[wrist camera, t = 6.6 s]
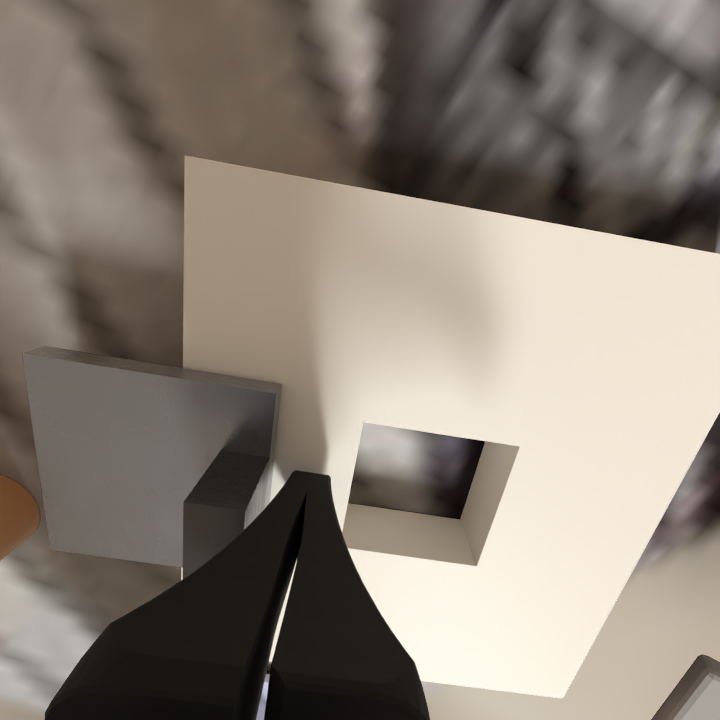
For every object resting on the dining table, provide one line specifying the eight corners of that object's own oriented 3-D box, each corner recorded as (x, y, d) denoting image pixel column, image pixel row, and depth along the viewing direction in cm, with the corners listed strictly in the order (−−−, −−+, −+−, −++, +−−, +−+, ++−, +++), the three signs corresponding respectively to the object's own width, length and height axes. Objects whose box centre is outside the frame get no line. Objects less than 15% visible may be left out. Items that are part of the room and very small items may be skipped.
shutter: (263, 559, 13) (234, 649, 10) (68, 532, 13) (-21, 617, 10) (282, 384, 11) (251, 434, 8) (45, 346, 11) (-79, 383, 8)
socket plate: (537, 640, 18) (562, 698, 16) (205, 597, 18) (180, 650, 15) (715, 265, 12) (798, 268, 10) (221, 174, 12) (184, 155, 9)
